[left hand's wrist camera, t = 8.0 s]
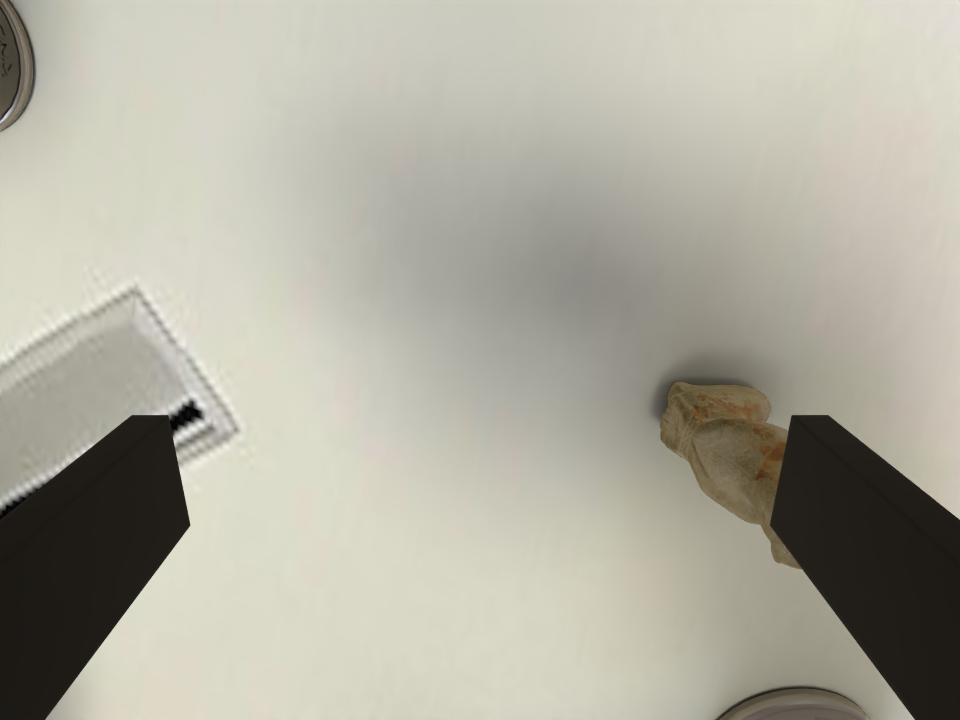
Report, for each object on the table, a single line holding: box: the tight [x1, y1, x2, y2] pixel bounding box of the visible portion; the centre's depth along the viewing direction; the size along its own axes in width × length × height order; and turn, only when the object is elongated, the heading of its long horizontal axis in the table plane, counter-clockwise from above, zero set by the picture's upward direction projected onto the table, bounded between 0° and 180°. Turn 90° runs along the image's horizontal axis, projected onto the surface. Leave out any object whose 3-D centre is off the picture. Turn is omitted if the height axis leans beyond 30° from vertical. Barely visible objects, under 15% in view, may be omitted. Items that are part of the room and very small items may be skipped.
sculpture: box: [660, 382, 802, 569], centre depth 34 cm, size 6×7×15 cm
